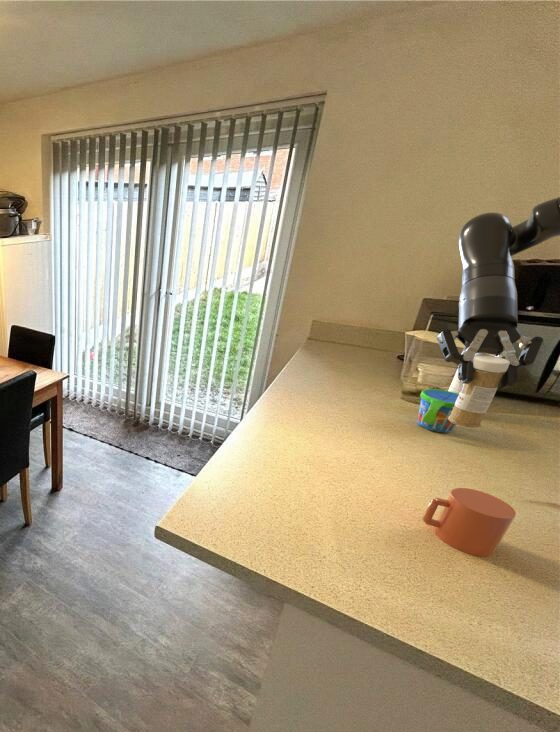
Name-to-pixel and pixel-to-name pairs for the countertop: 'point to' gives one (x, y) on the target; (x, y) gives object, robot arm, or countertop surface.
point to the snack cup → (436, 410)
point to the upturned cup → (471, 520)
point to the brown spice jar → (478, 391)
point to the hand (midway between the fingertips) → (486, 384)
